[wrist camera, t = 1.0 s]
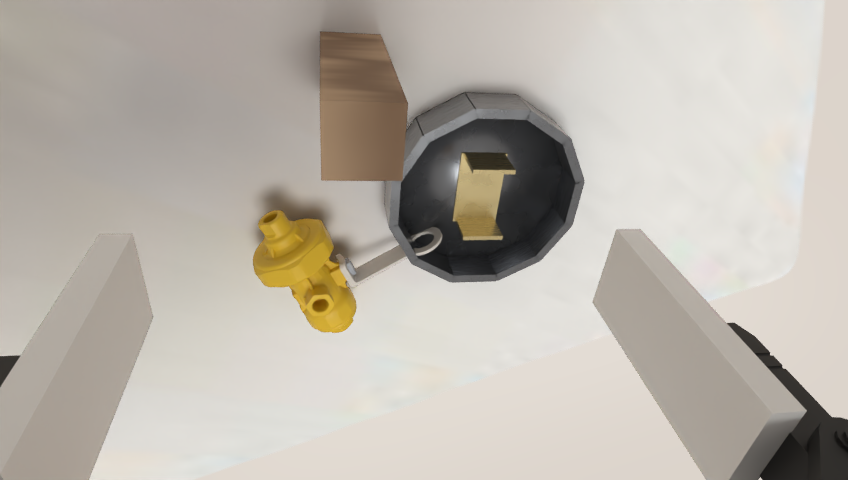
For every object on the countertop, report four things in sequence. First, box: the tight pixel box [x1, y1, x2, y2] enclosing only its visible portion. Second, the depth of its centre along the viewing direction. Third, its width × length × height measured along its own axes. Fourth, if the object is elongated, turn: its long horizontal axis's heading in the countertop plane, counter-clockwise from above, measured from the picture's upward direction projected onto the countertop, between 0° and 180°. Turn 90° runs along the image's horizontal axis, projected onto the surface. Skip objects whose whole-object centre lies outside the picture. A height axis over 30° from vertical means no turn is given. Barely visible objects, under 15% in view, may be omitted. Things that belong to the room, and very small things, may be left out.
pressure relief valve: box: [253, 210, 442, 333], centre depth 37 cm, size 6×12×10 cm
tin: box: [384, 93, 584, 282], centre depth 37 cm, size 13×13×3 cm
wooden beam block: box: [320, 31, 408, 181], centre depth 27 cm, size 4×4×12 cm
